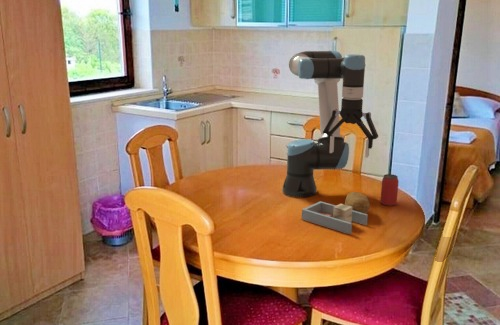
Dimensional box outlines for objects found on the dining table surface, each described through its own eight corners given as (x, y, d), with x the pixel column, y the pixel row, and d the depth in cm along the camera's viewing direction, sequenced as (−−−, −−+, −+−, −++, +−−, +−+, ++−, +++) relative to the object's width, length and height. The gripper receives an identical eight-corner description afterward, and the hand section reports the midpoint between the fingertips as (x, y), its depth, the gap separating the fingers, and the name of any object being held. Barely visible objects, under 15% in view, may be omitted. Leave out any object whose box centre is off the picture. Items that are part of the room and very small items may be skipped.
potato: (363, 206, 203) (364, 188, 201) (374, 219, 190) (375, 200, 188) (339, 207, 203) (340, 188, 200) (349, 220, 189) (350, 200, 187)
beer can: (397, 206, 203) (399, 178, 200) (380, 205, 204) (382, 178, 201) (396, 201, 209) (398, 174, 206) (379, 200, 211) (382, 173, 207)
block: (332, 224, 185) (333, 207, 183) (339, 220, 189) (340, 203, 187) (344, 228, 182) (345, 210, 180) (351, 224, 186) (352, 206, 184)
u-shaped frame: (301, 219, 190) (301, 209, 189) (320, 210, 199) (320, 201, 198) (349, 234, 176) (350, 224, 175) (367, 224, 185) (367, 214, 184)
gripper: (316, 97, 182) (314, 152, 188) (384, 102, 171) (380, 161, 177) (322, 94, 188) (320, 148, 194) (389, 99, 178) (384, 156, 184)
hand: (349, 154), depth 186 cm, fingers open, 13 cm apart
